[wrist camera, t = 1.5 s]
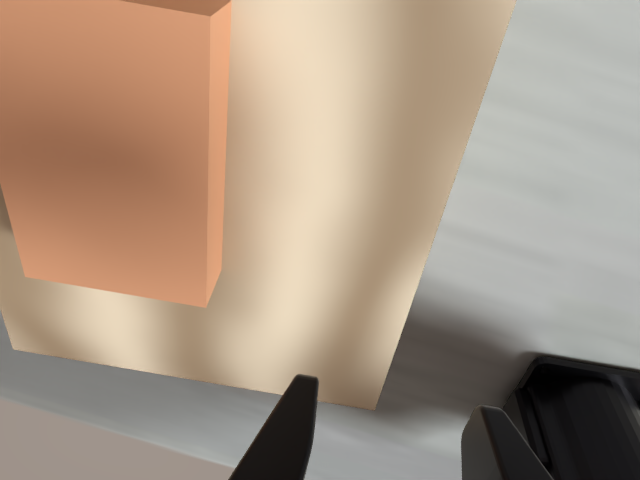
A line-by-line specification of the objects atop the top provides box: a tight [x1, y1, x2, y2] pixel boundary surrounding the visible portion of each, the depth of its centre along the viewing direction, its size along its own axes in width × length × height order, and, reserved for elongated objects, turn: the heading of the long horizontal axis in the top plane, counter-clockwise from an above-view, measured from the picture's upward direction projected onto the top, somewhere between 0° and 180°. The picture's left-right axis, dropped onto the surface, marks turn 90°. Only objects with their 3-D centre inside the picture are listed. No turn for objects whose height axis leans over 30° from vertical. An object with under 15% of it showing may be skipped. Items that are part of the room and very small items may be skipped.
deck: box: [0, 0, 517, 411], centre depth 17 cm, size 16×22×4 cm
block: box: [0, 0, 232, 308], centre depth 14 cm, size 6×9×2 cm, turn 172°
